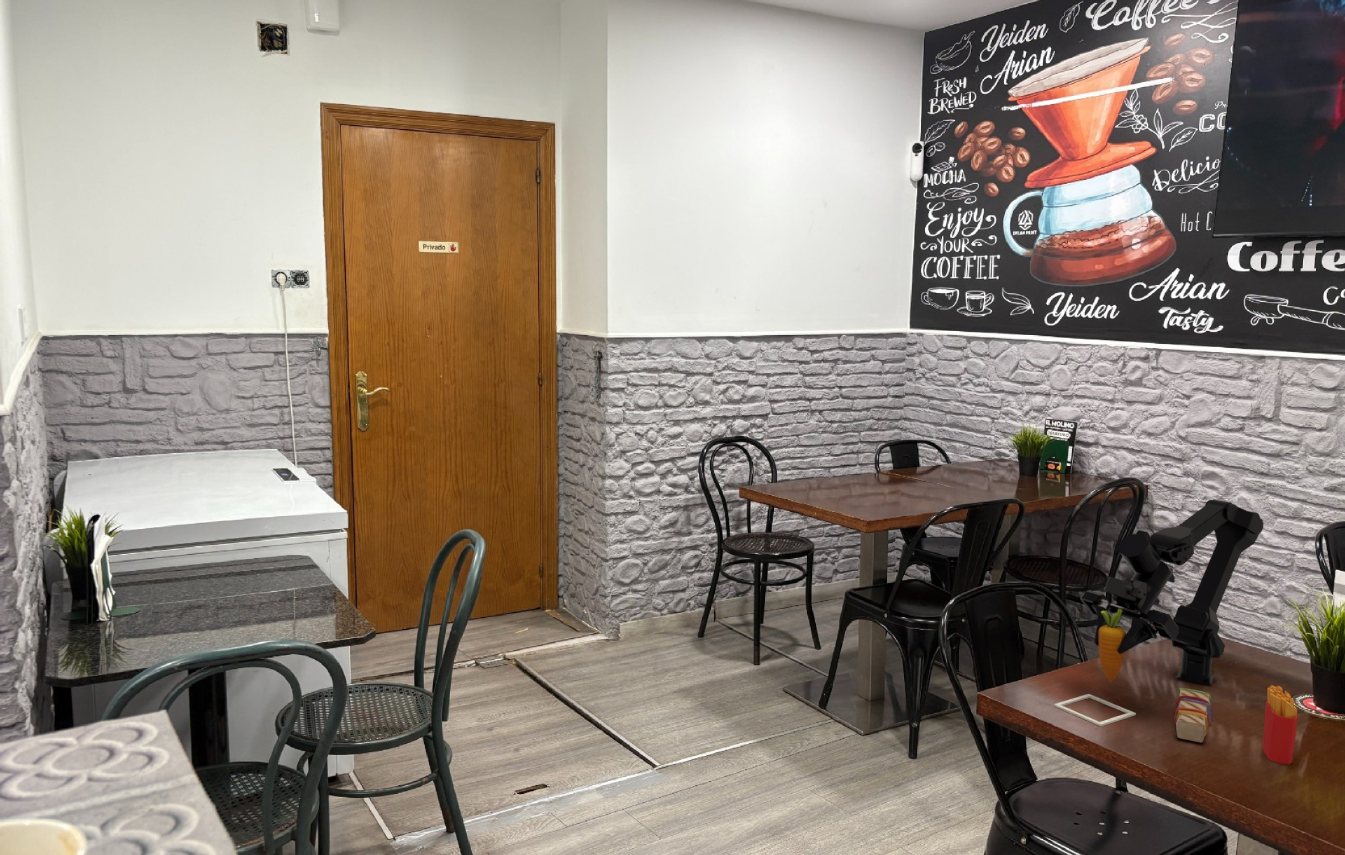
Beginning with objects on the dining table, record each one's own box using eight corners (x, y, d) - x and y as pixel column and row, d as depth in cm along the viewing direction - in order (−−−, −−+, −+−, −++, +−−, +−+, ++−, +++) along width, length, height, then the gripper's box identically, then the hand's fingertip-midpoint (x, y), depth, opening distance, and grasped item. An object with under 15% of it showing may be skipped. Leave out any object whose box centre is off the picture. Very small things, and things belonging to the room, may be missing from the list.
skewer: (1210, 748, 175) (1212, 722, 174) (1170, 740, 178) (1172, 714, 177) (1212, 707, 192) (1214, 683, 192) (1176, 700, 196) (1178, 677, 195)
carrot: (1095, 683, 190) (1098, 610, 189) (1097, 675, 195) (1100, 603, 193) (1123, 688, 188) (1126, 613, 186) (1124, 679, 192) (1128, 607, 191)
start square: (1088, 695, 197) (1088, 693, 197) (1135, 715, 188) (1135, 713, 188) (1053, 706, 192) (1054, 704, 192) (1100, 726, 183) (1100, 724, 183)
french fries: (1296, 767, 167) (1302, 702, 166) (1270, 764, 168) (1276, 699, 167) (1282, 746, 175) (1288, 683, 174) (1257, 743, 176) (1263, 680, 175)
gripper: (1088, 551, 198) (1049, 612, 194) (1174, 574, 182) (1133, 640, 178) (1111, 583, 203) (1073, 642, 199) (1196, 607, 187) (1157, 672, 183)
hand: (1107, 648), depth 190 cm, fingers closed on carrot, 5 cm apart
